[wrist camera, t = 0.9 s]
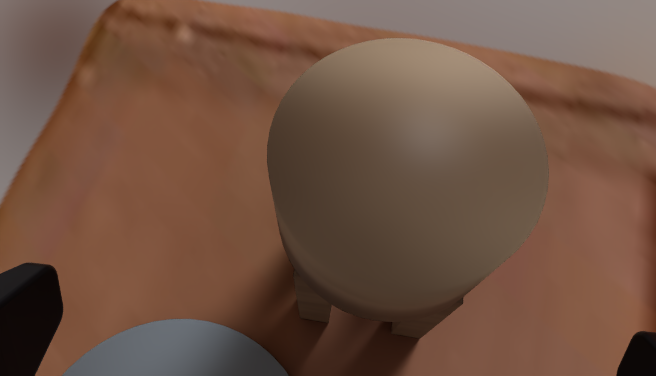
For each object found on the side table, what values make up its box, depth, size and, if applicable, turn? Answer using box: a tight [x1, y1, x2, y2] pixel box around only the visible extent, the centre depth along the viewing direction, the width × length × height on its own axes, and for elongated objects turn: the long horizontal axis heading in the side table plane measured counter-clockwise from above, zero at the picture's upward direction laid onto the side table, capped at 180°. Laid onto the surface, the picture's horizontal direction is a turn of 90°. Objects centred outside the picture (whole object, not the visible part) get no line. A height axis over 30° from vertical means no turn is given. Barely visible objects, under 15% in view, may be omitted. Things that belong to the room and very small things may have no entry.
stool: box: [267, 38, 549, 338], centre depth 18 cm, size 7×7×11 cm
